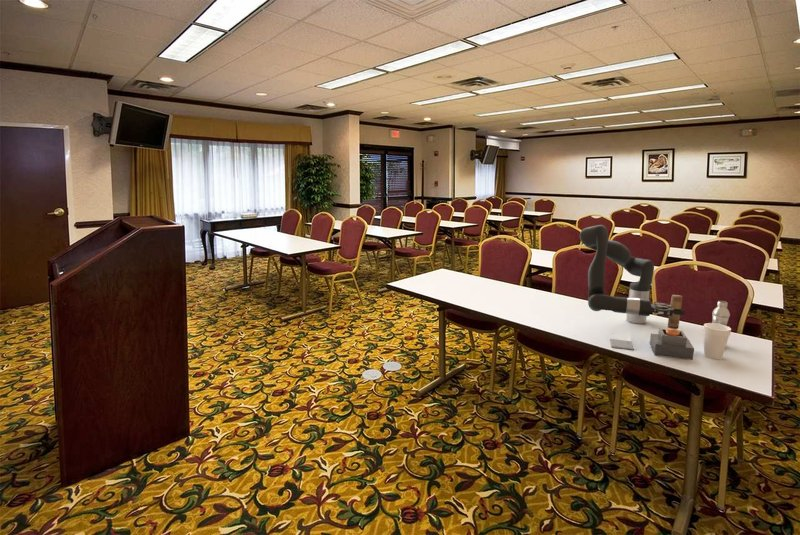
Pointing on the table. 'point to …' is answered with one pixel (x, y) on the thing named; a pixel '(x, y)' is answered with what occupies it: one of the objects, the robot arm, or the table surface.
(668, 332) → the breaker button
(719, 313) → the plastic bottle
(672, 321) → the stick
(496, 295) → the table surface
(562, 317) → the table surface
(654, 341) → the grey button housing
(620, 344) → the mat
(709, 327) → the foam cup
